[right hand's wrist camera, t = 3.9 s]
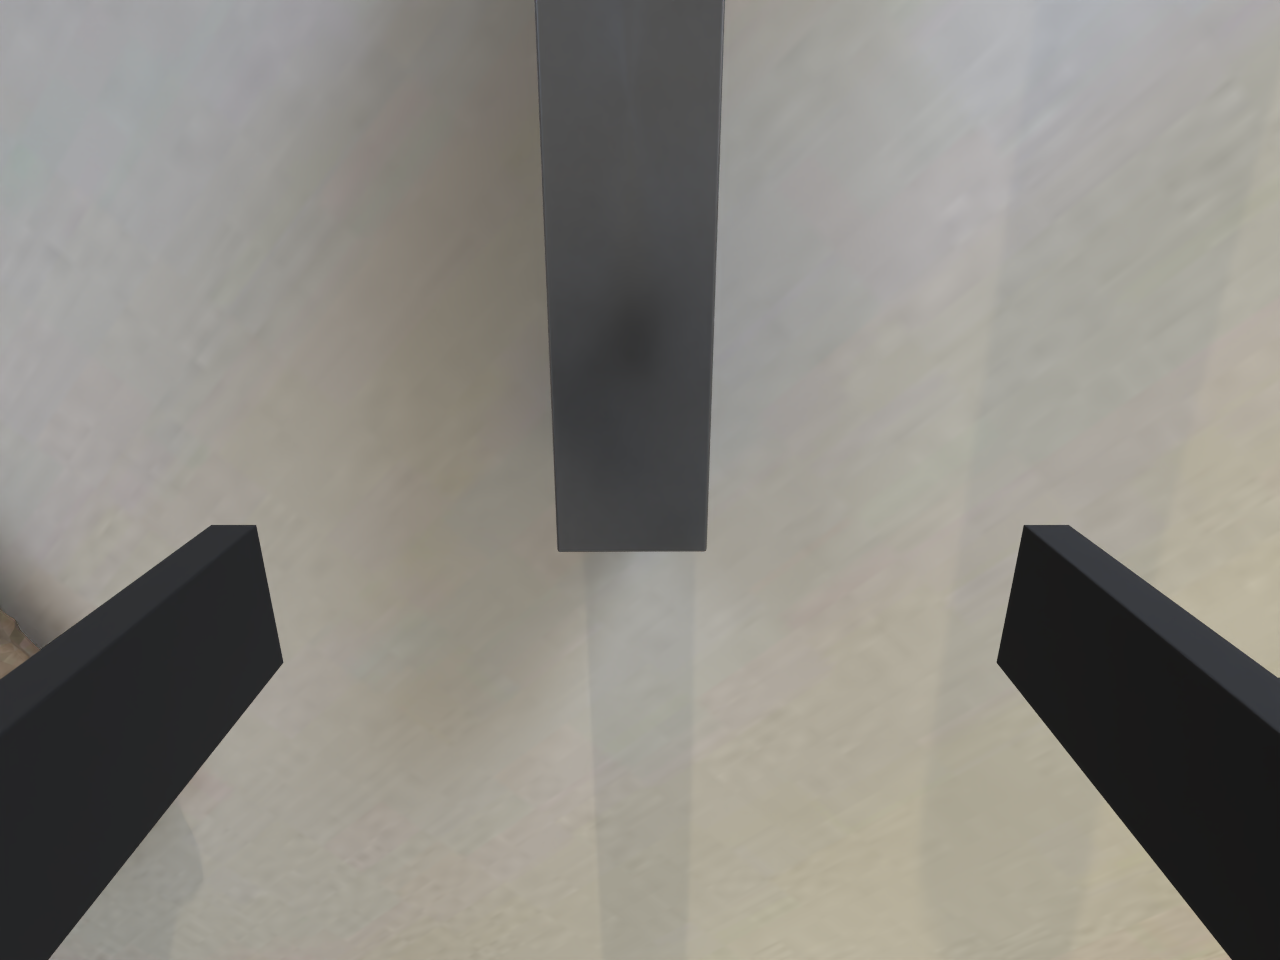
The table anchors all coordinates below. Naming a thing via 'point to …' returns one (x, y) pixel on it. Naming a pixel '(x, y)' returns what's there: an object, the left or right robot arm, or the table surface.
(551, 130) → the bar
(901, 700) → the table surface
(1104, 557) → the right robot arm
